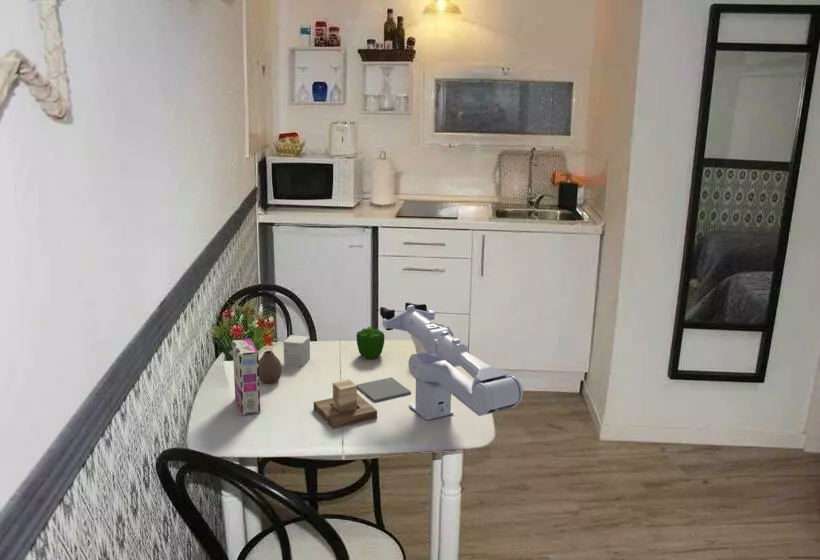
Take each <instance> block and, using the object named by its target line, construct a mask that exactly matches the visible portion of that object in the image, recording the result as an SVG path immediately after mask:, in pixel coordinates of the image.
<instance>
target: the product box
mask: <svg viewBox="0 0 820 560" xmlns="http://www.w3.org/2000/svg"><path fill="white" fill-rule="evenodd" d="M310 342H311V338H310V336H303V335H295V334H291V335H288V337H287V338H286V339H285V340H284V341H283V365H285V366H295V367H304V366H306V364H307V363H308V362H309V361H310V359H311V344H310Z"/></svg>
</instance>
